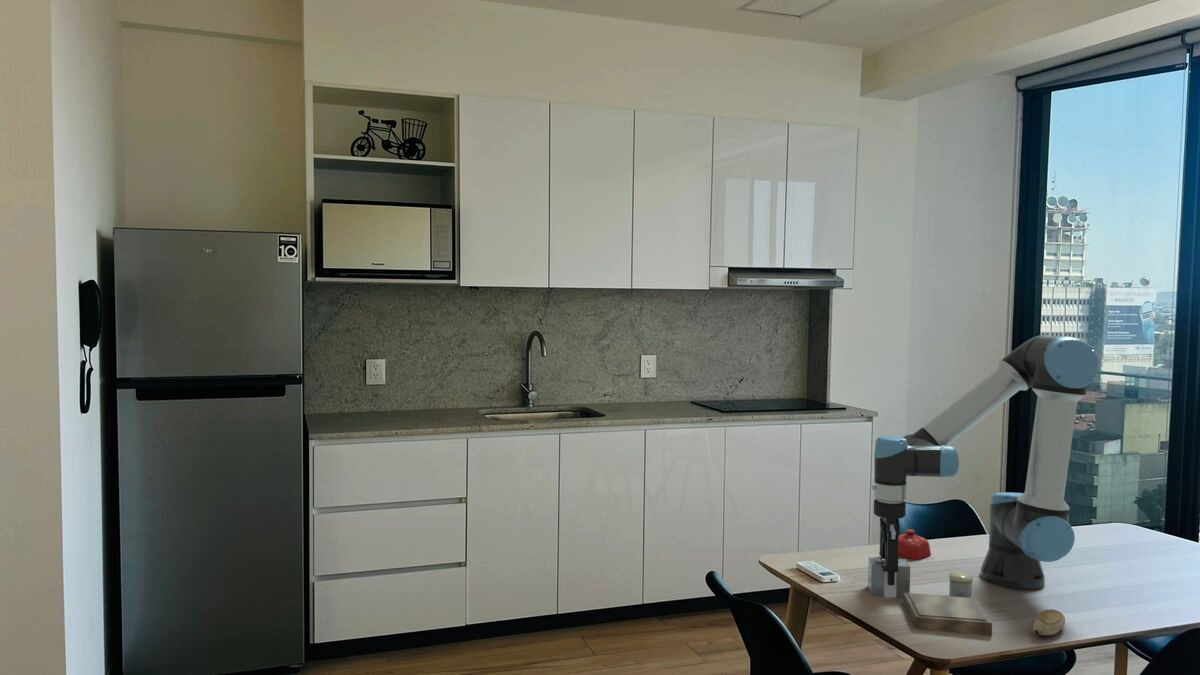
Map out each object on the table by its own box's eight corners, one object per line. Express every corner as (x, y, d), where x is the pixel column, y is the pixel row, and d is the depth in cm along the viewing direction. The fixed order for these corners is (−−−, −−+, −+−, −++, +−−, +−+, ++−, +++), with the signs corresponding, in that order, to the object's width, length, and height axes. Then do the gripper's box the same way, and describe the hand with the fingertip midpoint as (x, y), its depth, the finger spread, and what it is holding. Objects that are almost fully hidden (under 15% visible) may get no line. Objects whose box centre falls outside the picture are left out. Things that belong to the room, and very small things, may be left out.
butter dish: (915, 568, 240) (916, 537, 240) (879, 557, 249) (880, 528, 249) (939, 560, 247) (940, 530, 247) (903, 550, 256) (904, 521, 256)
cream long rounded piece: (1053, 629, 188) (1048, 647, 189) (1073, 610, 198) (1068, 628, 199) (1028, 618, 191) (1023, 636, 192) (1048, 600, 202) (1043, 617, 202)
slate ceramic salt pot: (969, 599, 216) (970, 572, 215) (974, 607, 210) (975, 579, 210) (945, 597, 217) (946, 571, 216) (950, 605, 211) (951, 578, 211)
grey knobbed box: (905, 590, 219) (906, 556, 219) (909, 599, 214) (910, 563, 213) (867, 588, 221) (868, 554, 220) (871, 596, 215) (871, 561, 215)
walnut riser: (973, 610, 208) (974, 596, 208) (991, 636, 192) (992, 621, 192) (903, 604, 211) (903, 591, 211) (915, 630, 195) (915, 616, 195)
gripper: (868, 490, 226) (867, 579, 227) (879, 508, 207) (877, 605, 209) (899, 491, 225) (897, 580, 226) (912, 510, 206) (910, 607, 207)
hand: (887, 592), depth 217 cm, fingers closed on grey knobbed box, 6 cm apart
